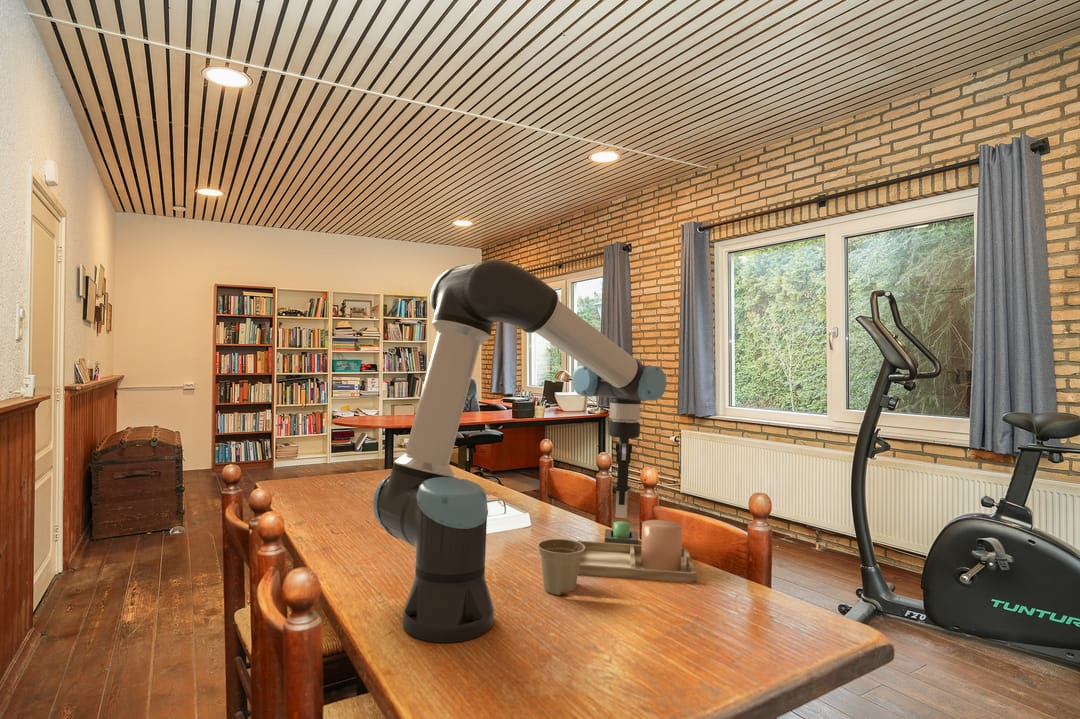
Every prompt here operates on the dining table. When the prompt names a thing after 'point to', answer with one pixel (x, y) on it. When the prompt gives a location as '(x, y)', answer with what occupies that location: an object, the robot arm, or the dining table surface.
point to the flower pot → (560, 564)
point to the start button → (621, 529)
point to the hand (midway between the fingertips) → (621, 517)
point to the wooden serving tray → (629, 563)
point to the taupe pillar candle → (661, 545)
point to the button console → (621, 538)
